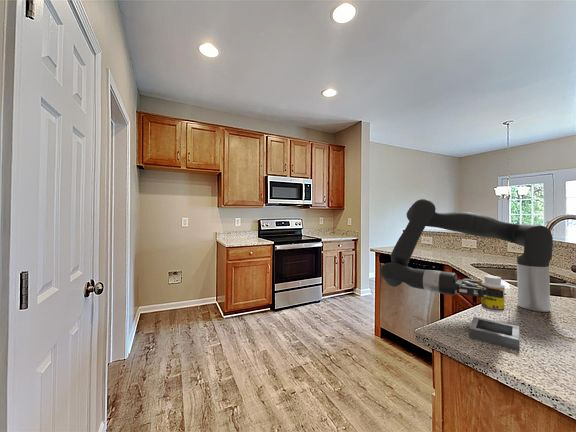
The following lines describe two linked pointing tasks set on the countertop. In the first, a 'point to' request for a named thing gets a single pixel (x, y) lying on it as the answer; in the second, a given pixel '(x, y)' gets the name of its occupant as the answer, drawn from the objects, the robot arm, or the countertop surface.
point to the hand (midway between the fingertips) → (503, 291)
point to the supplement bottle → (489, 301)
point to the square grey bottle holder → (494, 337)
